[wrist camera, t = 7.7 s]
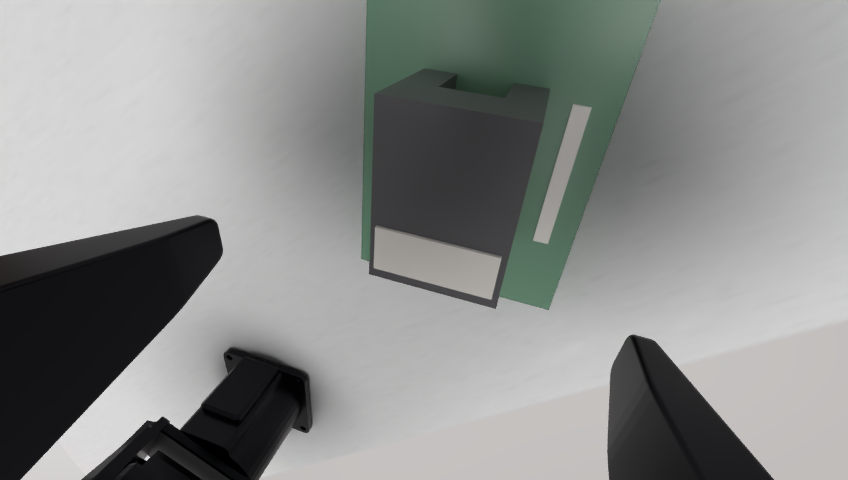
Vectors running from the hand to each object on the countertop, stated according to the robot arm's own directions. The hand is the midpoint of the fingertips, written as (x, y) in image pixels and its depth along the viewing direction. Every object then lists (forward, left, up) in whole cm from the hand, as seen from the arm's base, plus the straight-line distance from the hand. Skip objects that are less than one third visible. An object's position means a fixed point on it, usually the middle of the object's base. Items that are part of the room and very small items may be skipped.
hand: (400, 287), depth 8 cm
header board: (0, 0, -10) cm, 10 cm away
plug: (0, 0, -8) cm, 8 cm away
